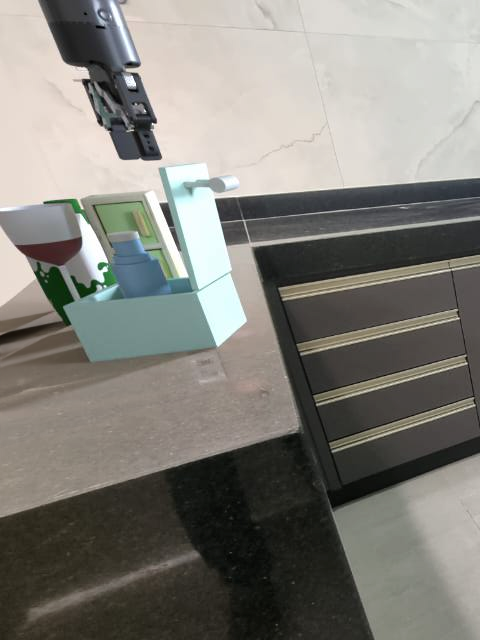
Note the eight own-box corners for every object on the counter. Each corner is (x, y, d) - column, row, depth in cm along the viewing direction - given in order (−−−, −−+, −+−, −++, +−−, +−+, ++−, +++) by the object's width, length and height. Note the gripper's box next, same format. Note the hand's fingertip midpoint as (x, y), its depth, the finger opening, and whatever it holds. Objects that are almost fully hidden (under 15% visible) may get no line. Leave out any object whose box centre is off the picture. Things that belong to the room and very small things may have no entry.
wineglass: (43, 344, 82) (-27, 212, 74) (84, 325, 90) (25, 204, 82) (102, 338, 84) (40, 209, 75) (138, 321, 91) (85, 201, 83)
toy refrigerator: (136, 331, 86) (77, 198, 78) (145, 319, 92) (91, 194, 84) (197, 321, 90) (146, 193, 82) (202, 310, 96) (155, 190, 87)
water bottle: (137, 349, 76) (87, 237, 70) (156, 336, 81) (110, 231, 74) (180, 344, 77) (134, 234, 71) (195, 332, 82) (154, 228, 76)
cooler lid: (157, 167, 66) (210, 169, 68) (199, 162, 77) (244, 164, 79) (192, 290, 72) (239, 289, 74) (226, 270, 83) (267, 269, 85)
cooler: (93, 368, 73) (62, 306, 69) (139, 338, 83) (115, 283, 79) (219, 352, 76) (196, 293, 73) (249, 326, 87) (230, 272, 83)
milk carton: (131, 317, 93) (78, 200, 85) (59, 330, 88) (-5, 207, 80) (130, 307, 99) (80, 196, 91) (62, 319, 94) (4, 203, 86)
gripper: (32, 27, 68) (90, 161, 74) (63, 11, 60) (123, 162, 67) (109, 33, 73) (156, 158, 80) (145, 20, 66) (194, 158, 73)
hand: (141, 160), depth 73 cm, fingers open, 8 cm apart
